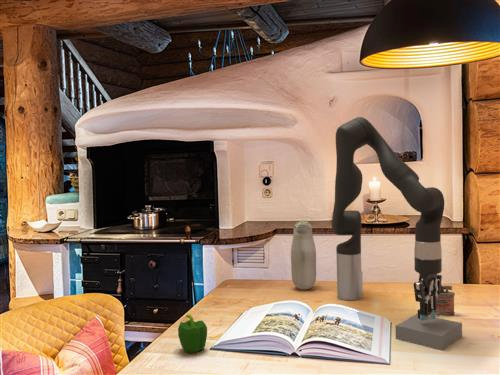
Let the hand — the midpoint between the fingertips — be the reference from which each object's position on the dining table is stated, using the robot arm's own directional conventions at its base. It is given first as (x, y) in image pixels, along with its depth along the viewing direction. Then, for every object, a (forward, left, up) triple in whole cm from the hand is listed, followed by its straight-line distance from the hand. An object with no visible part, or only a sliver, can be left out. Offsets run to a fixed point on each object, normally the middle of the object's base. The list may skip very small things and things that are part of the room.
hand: (428, 312), depth 149 cm
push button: (0, 0, -2) cm, 2 cm away
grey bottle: (-20, -62, -8) cm, 65 cm away
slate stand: (0, 0, -7) cm, 7 cm away
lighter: (-23, -6, -8) cm, 25 cm away
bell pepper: (+51, -47, -8) cm, 70 cm away
